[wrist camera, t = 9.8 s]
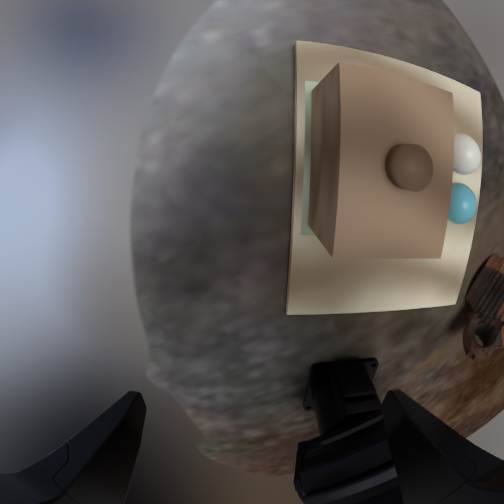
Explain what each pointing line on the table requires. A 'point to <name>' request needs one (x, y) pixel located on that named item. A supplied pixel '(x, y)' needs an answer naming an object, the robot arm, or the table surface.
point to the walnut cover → (380, 164)
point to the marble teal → (461, 204)
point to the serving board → (371, 269)
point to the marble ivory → (465, 154)
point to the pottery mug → (486, 311)
